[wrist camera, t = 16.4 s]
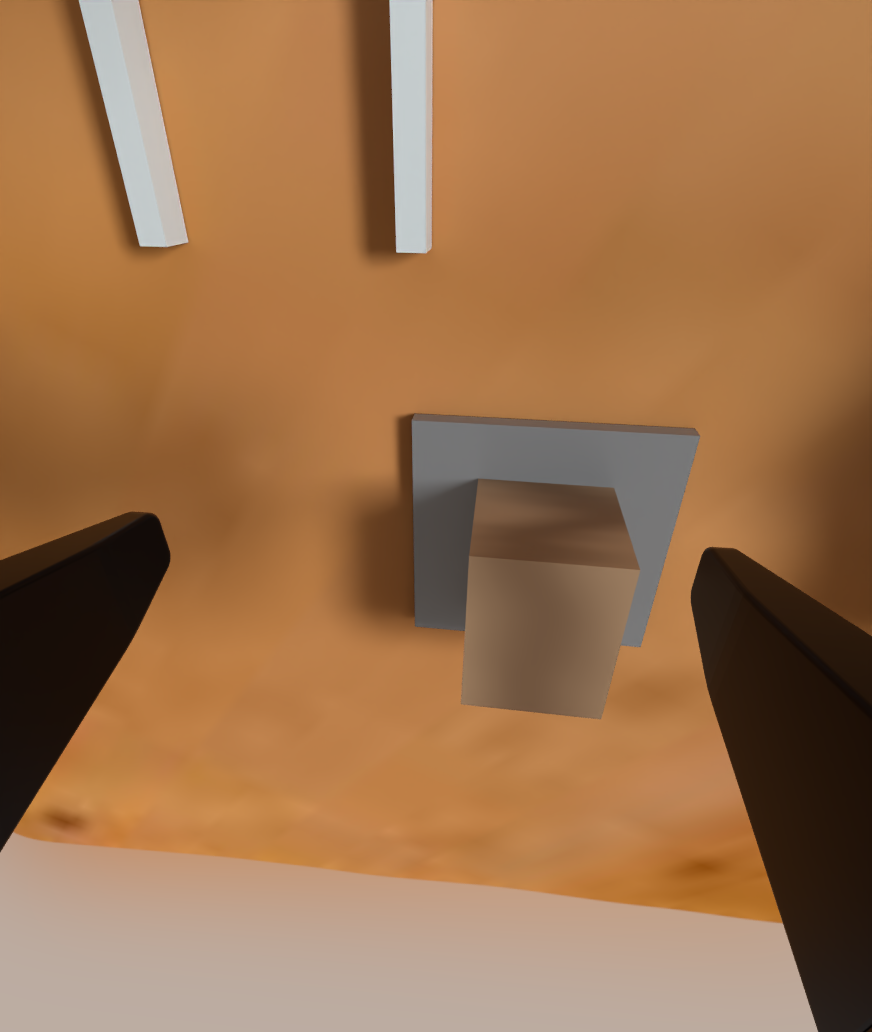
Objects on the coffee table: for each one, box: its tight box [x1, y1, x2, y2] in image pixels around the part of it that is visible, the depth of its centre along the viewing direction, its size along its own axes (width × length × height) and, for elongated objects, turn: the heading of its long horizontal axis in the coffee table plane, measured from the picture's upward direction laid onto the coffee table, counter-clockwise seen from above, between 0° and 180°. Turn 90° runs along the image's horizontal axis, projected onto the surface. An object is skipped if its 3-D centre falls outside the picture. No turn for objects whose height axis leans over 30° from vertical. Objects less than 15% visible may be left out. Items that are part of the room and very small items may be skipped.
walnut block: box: [461, 479, 640, 719], centre depth 18 cm, size 4×6×4 cm
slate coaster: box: [412, 414, 700, 647], centre depth 20 cm, size 9×9×1 cm
